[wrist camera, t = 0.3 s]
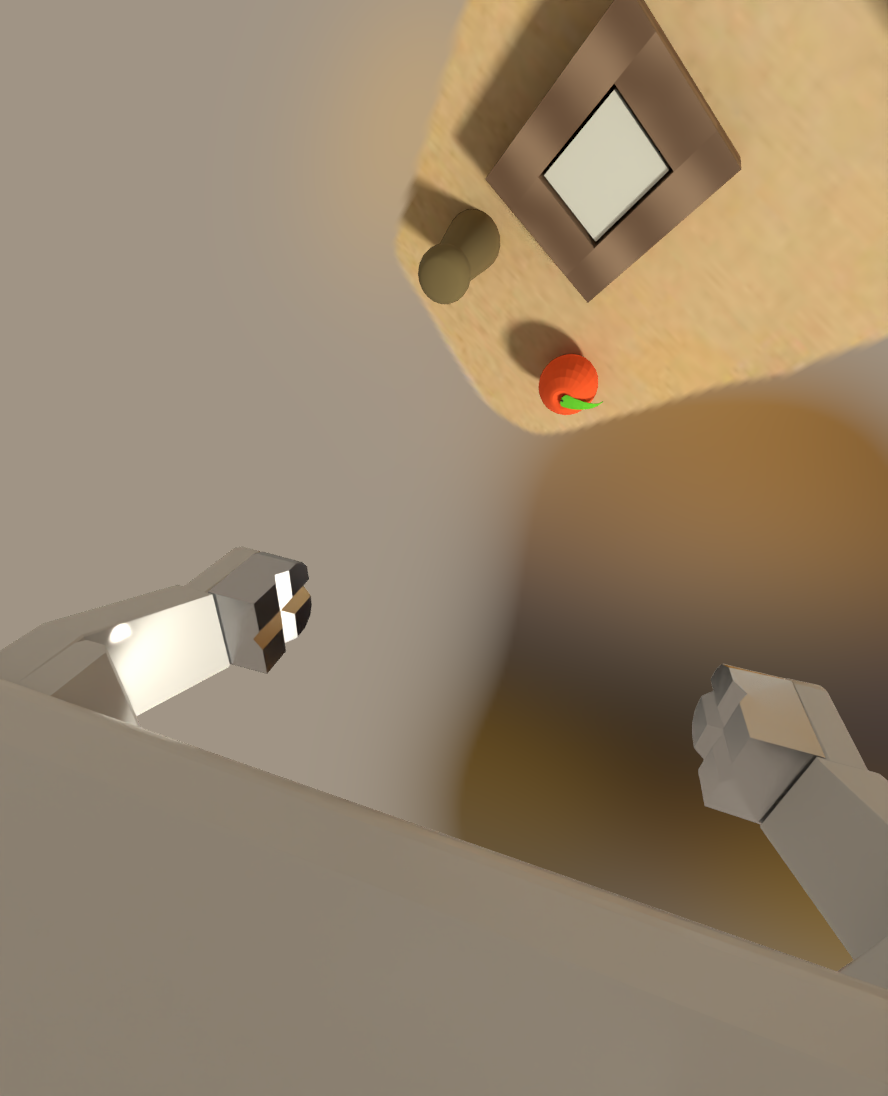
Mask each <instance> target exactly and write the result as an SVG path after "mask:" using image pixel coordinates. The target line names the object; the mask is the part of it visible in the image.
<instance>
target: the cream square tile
mask: <svg viewBox="0 0 888 1096" xmlns="http://www.w3.org/2000/svg"><path fill="white" fill-rule="evenodd" d="M669 168H670V167H669V166H668V164H667V163H666V161H665V160H664V158H663V157H662V155H661V154H660V152H659V151H658V149H657V148H656V146H655V145H654V143H653V142H652V140H651V139H650V138H649V136H648V135H647V133H646V132H645V130H644V129H643V127H642V126H641V124H640V123H639V121H638V120H637V118H636V117H635V115H634V114H633V112H632V111H631V109H630V108H629V106H628V105H627V103H626V102H625V101H624V99H623V98H622V96H621V95H620V93H619V92H618V90H617V89H616V88H615V89H614V90H613V92H612V93H611V94H610V95H609V97H608V98H607V99H606V100H605V101H604V103H603V104H602V105H601V106H600V108H599V109H598V110H597V111H596V112H595V114H594V115H593V116H592V117H591V119H590V120H589V121H588V122H587V123H586V125H585V126H584V127H583V128H582V130H581V131H580V132H579V133H578V134H577V136H576V137H575V138H574V139H573V141H572V142H571V143H570V144H569V145H568V147H567V148H566V149H565V150H564V152H563V153H562V154H561V155H560V156H559V158H558V159H557V160H556V161H555V163H554V164H553V165H552V166H551V167H550V169H549V170H548V171H547V172H546V174H545V175H544V176H545V177H546V179H547V180H548V181H549V182H550V184H551V185H552V186H553V188H554V189H555V190H556V191H557V193H558V194H559V195H560V197H561V198H562V199H563V200H564V202H565V203H566V204H567V206H568V207H569V208H570V209H571V211H572V212H573V213H574V215H575V216H576V217H577V218H578V220H579V221H580V222H581V224H582V225H583V226H584V227H585V229H586V230H587V231H588V232H589V234H590V235H591V236H592V238H593V239H594V240H595V241H597V240H598V239H599V238H600V237H601V236H602V235H603V234H604V233H605V232H606V231H607V230H608V229H609V228H610V227H611V226H612V225H613V224H614V223H615V222H616V221H618V220H619V219H620V218H621V217H622V216H623V215H624V214H625V213H626V212H627V211H628V210H629V209H630V208H631V207H632V206H633V205H634V204H635V203H636V202H637V201H638V200H639V199H640V198H641V197H642V196H643V195H644V194H645V193H646V192H647V191H648V190H649V189H650V188H651V187H652V186H653V185H654V184H656V183H657V182H658V181H659V180H660V179H661V178H662V177H663V176H664V175H665V174H666V173H667V172H668V171H669Z"/></svg>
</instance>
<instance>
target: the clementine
mask: <svg viewBox="0 0 888 1096" xmlns="http://www.w3.org/2000/svg"><path fill="white" fill-rule="evenodd" d="M597 388H598V375H597V372H596V370H595V368H594V367H593V365H592V364H591V362H590V361H588V360H587V359H586V358H584V357H582V356H580V355H576V354H566V355H563V356H560V357H557V358H555V359H554V360H552V361H551V362H550V363H549V364H548V365H547V366H546V367H545V369H544V370H543V372H542V374H541V376H540V382H539V394H540V397H541V399H542V401H543V403H544V404H545V406H546V407H547V408H548V409H550V410H551V411H553V412H555V413H557V414H562V415H571V414H575V413H577V412H579V411H581V410H583V409H590V408H594V407H596V406H598V405H599V404H601V403H602V402H603V401H602V402H600V403H598V404H592V403H591V401H592V400H593V398H594V396H595V395H596V392H597Z"/></svg>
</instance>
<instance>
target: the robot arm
mask: <svg viewBox="0 0 888 1096" xmlns="http://www.w3.org/2000/svg"><path fill="white" fill-rule="evenodd" d="M308 580H309V576H308V570H307V566H306V565H305V564H304V563H302V562H299V561H296V560H292V559H288V558H284V557H281V556H277V555H273V554H270V553H266V552H260V551H257V550H253V549H249V548H245V547H238V548H234V549H233V550H231V551H230V552H229V553H227V554H226V555H225V556H223V557H222V558H221V559H219V560H218V561H217V562H216V563H214V564H213V565H211V566H210V567H209V568H207V569H206V570H205V571H204V572H202V573H201V574H199V575H198V576H197V577H196V578H194V579H193V580H192V581H190V582H189V583H188V584H187V585H185V586H180V585H175V586H172V587H168V588H165V589H161V590H158V591H154V592H151V593H147V594H144V595H140V596H137V597H133V598H130V599H127V600H123V601H119V602H116V603H113V604H109V605H106V606H102V607H99V608H95V609H92V610H88V611H85V612H81V613H78V614H74V615H71V616H68V617H64V618H61V619H57V620H54V621H50V622H47V623H43V624H41V625H40V626H38V627H37V628H35V629H34V630H32V631H30V632H29V633H27V634H26V635H24V636H23V637H21V638H19V639H18V640H16V641H15V642H13V643H12V644H10V645H8V646H7V647H5V648H4V649H2V650H1V651H0V1096H888V781H887V780H886V779H885V778H884V777H883V776H881V775H880V774H878V773H874V772H871V771H868V770H867V768H866V766H865V764H864V762H863V760H862V758H861V756H860V754H859V752H858V750H857V748H856V746H855V745H854V743H853V741H852V739H851V737H850V735H849V733H848V731H847V729H846V727H845V725H844V723H843V721H842V719H841V718H840V716H839V714H838V712H837V710H836V708H835V706H834V704H833V702H832V700H831V698H830V697H829V694H828V692H827V691H826V690H825V689H824V688H822V687H821V686H820V685H815V684H811V683H806V682H801V681H797V680H792V679H788V678H786V679H784V678H780V677H775V676H772V675H767V674H763V673H759V672H755V671H750V670H746V669H742V668H738V667H734V666H729V665H725V664H721V665H720V666H719V667H718V668H717V669H716V671H715V672H714V674H713V676H712V678H711V683H712V687H713V691H712V692H710V693H707V694H705V695H703V696H701V699H700V700H699V702H698V704H697V707H696V709H695V713H694V718H693V723H692V737H693V743H694V748H695V749H696V750H697V752H698V753H699V754H700V755H701V756H702V757H703V759H704V761H703V763H702V765H701V766H700V768H699V770H698V772H699V777H700V782H701V788H702V793H703V798H704V804H705V806H707V807H710V808H713V809H716V810H719V811H722V812H725V813H728V814H731V815H734V816H737V817H740V818H743V819H746V820H749V821H752V822H755V823H758V824H761V826H760V828H761V829H762V830H763V832H764V833H765V835H766V836H767V837H768V839H769V840H770V842H771V843H772V845H773V846H774V847H775V849H776V850H777V852H778V853H779V854H780V856H781V857H782V859H783V860H784V862H785V863H786V864H787V866H788V867H789V869H790V870H791V872H792V873H793V874H794V876H795V877H796V879H797V880H798V881H799V883H800V884H801V886H802V887H803V888H804V890H805V891H806V893H807V894H808V896H809V897H810V898H811V900H812V901H813V903H814V904H815V906H816V907H817V908H818V910H819V911H820V913H821V914H822V915H823V917H824V918H825V919H826V921H827V923H828V924H829V925H830V927H831V928H832V930H833V931H834V932H835V934H836V935H837V937H838V938H839V940H840V941H841V942H842V944H843V945H844V947H845V948H846V949H847V951H848V952H849V954H850V955H851V956H852V958H853V959H854V960H853V961H852V962H850V963H849V964H847V965H846V966H845V967H843V968H842V969H840V970H839V971H834V970H831V969H828V968H825V967H822V966H819V965H817V964H814V963H811V962H808V961H805V960H802V959H800V958H797V957H794V956H791V955H788V954H785V953H782V952H780V951H777V950H774V949H771V948H768V947H765V946H762V945H760V944H756V943H754V942H751V941H748V940H745V939H742V938H739V937H737V936H734V935H731V934H728V933H725V932H722V931H720V930H717V929H714V928H711V927H708V926H706V925H703V924H700V923H697V922H694V921H691V920H688V919H686V918H683V917H680V916H677V915H674V914H671V913H668V912H665V911H663V910H660V909H657V908H654V907H651V906H648V905H646V904H642V903H640V902H637V901H634V900H631V899H628V898H626V897H623V896H620V895H617V894H614V893H611V892H608V891H606V890H602V889H600V888H597V887H594V886H591V885H588V884H586V883H583V882H580V881H577V880H574V879H571V878H568V877H566V876H563V875H560V874H557V873H554V872H551V871H548V870H545V869H543V868H540V867H537V866H534V865H531V864H528V863H526V862H523V861H520V860H517V859H514V858H511V857H508V856H505V855H503V854H500V853H497V852H494V851H491V850H488V849H485V848H483V847H480V846H477V845H474V844H471V843H468V842H465V841H463V840H459V839H457V838H454V837H451V836H448V835H446V834H443V833H440V832H437V831H434V830H431V829H428V828H425V827H422V826H420V825H417V824H414V823H411V822H408V821H405V820H403V819H400V818H397V817H394V816H391V815H388V814H385V813H383V812H380V811H377V810H374V809H371V808H369V807H366V806H363V805H360V804H357V803H354V802H351V801H349V800H346V799H343V798H340V797H337V796H334V795H332V794H329V793H326V792H323V791H320V790H317V789H314V788H312V787H309V786H306V785H303V784H300V783H297V782H294V781H292V780H289V779H286V778H283V777H280V776H277V775H274V774H271V773H269V772H266V771H263V770H260V769H257V768H254V767H252V766H249V765H246V764H243V763H240V762H237V761H235V760H232V759H229V758H226V757H223V756H220V755H218V754H215V753H212V752H209V751H206V750H203V749H200V748H198V747H195V746H192V745H189V744H186V743H183V742H180V741H178V740H175V739H172V738H169V737H166V736H163V735H160V734H157V733H155V732H152V731H149V730H146V729H143V728H142V727H141V725H140V723H139V721H138V718H137V715H139V714H141V713H143V712H145V711H146V710H149V709H150V708H152V707H154V706H156V705H158V704H160V703H162V702H164V701H165V700H167V699H169V698H171V697H173V696H175V695H177V694H179V693H180V692H182V691H184V690H186V689H188V688H190V687H192V686H194V685H196V684H197V683H199V682H201V681H203V680H205V679H207V678H209V677H211V676H212V675H214V674H216V673H218V672H220V671H222V670H224V669H226V668H227V667H229V666H230V664H232V665H237V666H240V667H244V668H247V669H251V670H255V671H258V672H262V673H266V674H267V673H268V672H269V671H270V670H271V668H272V667H273V666H274V665H275V664H276V662H277V661H278V660H279V659H280V658H281V657H282V655H283V654H284V653H285V652H286V649H285V642H287V641H290V640H292V639H294V638H297V637H298V636H299V635H300V633H301V632H302V631H303V630H304V628H305V626H306V624H307V622H308V619H309V617H310V613H311V605H312V604H311V596H310V594H309V593H308V591H307V590H306V589H305V587H304V584H305V583H306V582H307V581H308Z"/></svg>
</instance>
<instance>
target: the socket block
mask: <svg viewBox="0 0 888 1096" xmlns="http://www.w3.org/2000/svg"><path fill="white" fill-rule="evenodd" d="M614 84H615V85H616V87H617V88H618V90H619V91H620V93H621V94H622V96H623V97H624V98H625V100H626V101H627V103H628V104H629V106H630V107H631V109H632V110H633V112H634V113H635V115H636V116H637V118H638V119H639V121H640V122H641V124H642V125H643V127H644V128H645V130H646V131H647V133H648V134H649V136H650V137H651V139H652V140H653V141H654V143H655V144H656V146H657V147H658V149H659V150H660V152H661V153H662V155H663V156H664V158H665V159H666V161H667V162H668V164H669V165H670V168H669V171H668V172H667V173H666V174H665V175H664V176H663V177H662V178H661V179H660V180H659V181H658V182H657V183H656V184H654V185H653V186H652V187H651V188H650V189H649V190H648V191H647V192H646V193H645V194H644V195H643V196H642V197H641V198H640V199H639V200H638V201H637V202H636V203H635V204H634V205H633V206H632V207H631V208H630V209H629V210H628V211H627V212H626V213H625V214H624V215H623V216H622V217H621V218H620V219H619V220H618V221H616V222H615V223H614V224H613V225H612V226H611V227H610V228H609V229H608V230H607V231H606V232H605V233H604V234H603V235H602V236H601V237H600V238H599V239H598V240H597V241H595V240H594V239H593V238H592V236H591V235H590V234H589V232H588V231H587V230H586V229H585V227H584V226H583V225H582V224H581V222H580V221H579V220H578V218H577V217H576V216H575V215H574V213H573V212H572V211H571V209H570V208H569V207H568V206H567V204H566V203H565V202H564V200H563V199H562V198H561V197H560V195H559V194H558V193H557V191H556V190H555V189H554V188H553V186H552V185H551V184H550V182H549V181H548V180H547V179H546V177H545V176H544V175H545V174H546V172H547V171H548V170H549V169H550V168H549V167H548V165H549V163H550V162H551V161H552V160H553V159H554V157H555V156H556V155H557V154H558V152H559V151H560V150H561V149H562V147H563V146H564V145H565V144H566V143H567V141H568V140H569V139H570V138H571V136H572V135H573V134H574V133H575V131H576V130H577V129H578V128H579V127H580V125H581V124H582V123H583V122H584V120H585V119H586V118H587V117H588V115H589V114H590V113H591V112H592V110H593V109H594V108H595V107H596V106H597V104H598V103H599V102H600V101H601V99H602V98H603V97H604V96H605V94H606V93H607V92H608V91H609V90H610V88H611V87H612V86H613V85H614ZM740 170H741V160H740V156H739V154H738V152H737V151H736V149H735V148H734V146H733V144H732V143H731V141H730V139H729V138H728V136H727V135H726V133H725V131H724V130H723V128H722V126H721V125H720V123H719V122H718V120H717V118H716V117H715V115H714V113H713V112H712V110H711V108H710V107H709V105H708V104H707V102H706V100H705V99H704V97H703V95H702V94H701V92H700V91H699V89H698V87H697V86H696V84H695V82H694V81H693V79H692V78H691V76H690V74H689V73H688V71H687V69H686V68H685V66H684V65H683V63H682V61H681V60H680V58H679V56H678V55H677V53H676V52H675V50H674V48H673V47H672V45H671V43H670V42H669V40H668V39H667V37H666V35H665V34H664V32H663V30H662V29H661V27H660V26H659V24H658V22H657V21H656V19H655V17H654V16H653V14H652V13H651V11H650V9H649V8H648V6H647V4H646V3H645V1H644V0H614V1H613V2H612V4H611V5H610V7H609V8H608V9H607V11H606V12H605V14H604V15H603V16H602V18H601V19H600V21H599V22H598V23H597V25H596V26H595V27H594V29H593V30H592V32H591V33H590V34H589V36H588V37H587V39H586V40H585V41H584V43H583V44H582V46H581V47H580V48H579V50H578V51H577V52H576V54H575V55H574V57H573V58H572V59H571V61H570V62H569V64H568V65H567V66H566V68H565V69H564V70H563V72H562V73H561V75H560V76H559V77H558V79H557V80H556V82H555V83H554V84H553V86H552V87H551V89H550V90H549V91H548V93H547V94H546V95H545V97H544V98H543V100H542V101H541V102H540V104H539V105H538V107H537V108H536V109H535V111H534V112H533V114H532V115H531V116H530V118H529V119H528V120H527V122H526V123H525V125H524V126H523V127H522V129H521V130H520V132H519V133H518V134H517V136H516V137H515V139H514V140H513V141H512V143H511V144H510V145H509V147H508V148H507V150H506V151H505V152H504V154H503V155H502V157H501V158H500V159H499V161H498V162H497V164H496V165H495V166H494V168H493V169H492V170H491V172H490V173H489V175H488V176H487V177H486V181H487V182H488V183H489V184H490V185H491V187H492V188H493V189H494V190H495V191H496V193H497V194H498V195H499V196H500V198H501V199H502V200H503V201H504V202H505V204H506V205H507V206H508V207H509V208H510V210H511V211H512V212H513V213H514V214H515V216H516V217H517V218H518V219H519V220H520V222H521V223H522V224H523V225H524V226H525V228H526V229H527V230H528V231H529V233H530V234H531V235H532V236H533V237H534V239H535V240H536V241H537V242H538V243H539V245H540V246H541V247H542V248H543V249H544V251H545V252H546V253H547V254H548V255H549V257H550V258H551V259H552V260H553V261H554V263H555V264H556V265H557V266H558V268H559V269H560V270H561V271H562V272H563V274H564V275H565V276H566V277H567V278H568V280H569V281H570V282H571V283H572V284H573V286H574V287H575V288H576V289H577V290H578V292H579V293H580V294H581V295H582V296H583V298H584V299H585V300H586V301H587V303H588V302H589V301H590V300H592V299H593V298H594V297H595V296H596V295H597V294H598V293H600V292H601V291H602V290H603V289H604V288H605V287H606V286H608V285H609V284H610V283H611V282H612V281H613V280H615V279H616V278H617V277H618V276H619V275H620V274H621V273H623V272H624V271H625V270H626V269H627V268H628V267H629V266H631V265H632V264H633V263H634V262H635V261H636V260H638V259H639V258H640V257H641V256H642V255H643V254H644V253H646V252H647V251H648V250H649V249H650V248H651V247H652V246H654V245H655V244H656V243H657V242H658V241H659V240H661V239H662V238H663V237H664V236H665V235H666V234H667V233H669V232H670V231H671V230H672V229H673V228H674V227H675V226H677V225H678V224H679V223H680V222H681V221H682V220H684V219H685V218H686V217H687V216H688V215H689V214H690V213H692V212H693V211H694V210H695V209H696V208H697V207H698V206H700V205H701V204H702V203H703V202H704V201H705V200H707V199H708V198H709V197H710V196H711V195H712V194H713V193H715V192H716V191H717V190H718V189H719V188H720V187H721V186H723V185H724V184H725V183H726V182H727V181H728V180H730V179H731V178H732V177H733V176H734V175H735V174H736V173H738V172H739V171H740Z"/></svg>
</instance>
